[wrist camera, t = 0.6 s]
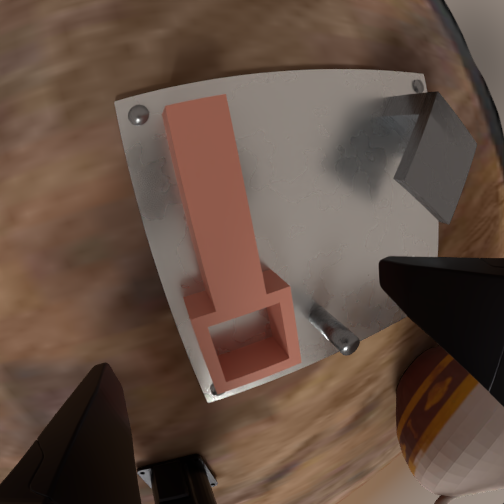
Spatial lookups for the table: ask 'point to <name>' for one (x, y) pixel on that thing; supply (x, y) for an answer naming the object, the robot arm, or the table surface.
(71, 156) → the table surface
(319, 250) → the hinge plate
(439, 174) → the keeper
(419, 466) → the jug
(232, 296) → the link
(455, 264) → the robot arm
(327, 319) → the cylinder
